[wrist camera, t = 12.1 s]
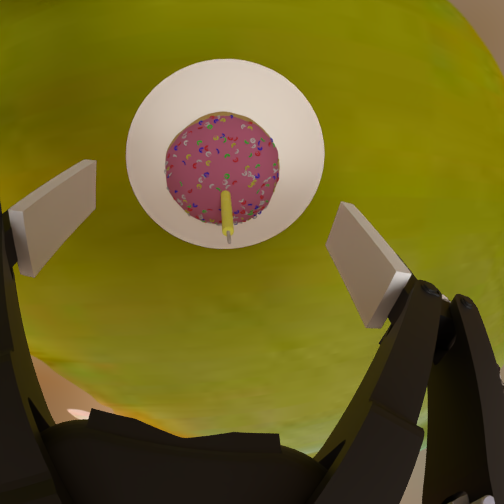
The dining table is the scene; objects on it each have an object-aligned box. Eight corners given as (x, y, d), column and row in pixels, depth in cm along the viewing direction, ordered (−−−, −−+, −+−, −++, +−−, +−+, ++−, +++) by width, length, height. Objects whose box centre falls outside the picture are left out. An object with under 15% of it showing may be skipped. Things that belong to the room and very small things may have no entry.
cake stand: (163, 59, 27) (141, 49, 20) (320, 88, 30) (345, 87, 22) (143, 203, 35) (121, 233, 28) (283, 226, 38) (294, 261, 31)
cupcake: (282, 188, 27) (315, 255, 16) (194, 214, 28) (173, 293, 17) (257, 98, 23) (278, 100, 12) (162, 128, 23) (110, 157, 13)
